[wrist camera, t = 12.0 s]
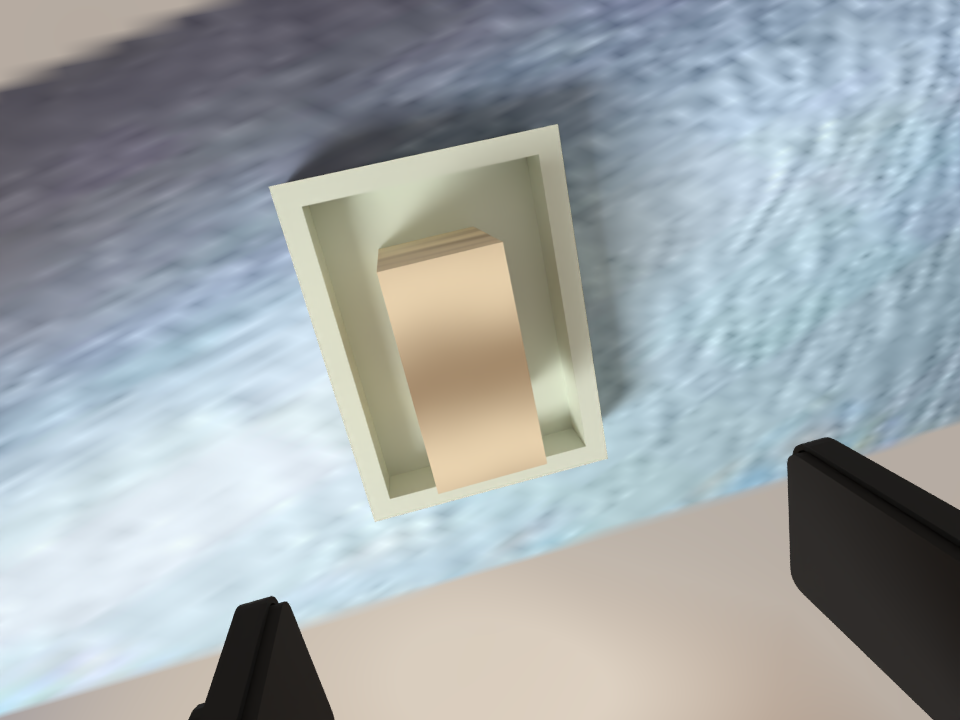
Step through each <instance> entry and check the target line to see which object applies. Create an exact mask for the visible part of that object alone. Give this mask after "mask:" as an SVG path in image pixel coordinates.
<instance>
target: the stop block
mask: <svg viewBox="0 0 960 720" xmlns="http://www.w3.org/2000/svg"><path fill="white" fill-rule="evenodd" d="M377 275H378V279H379V283H380V286H381V290H382V293H383V297H384V301H385V304H386V308H387V311H388V315H389V319H390V322H391V326H392V329H393V333H394V337H395V340H396V344H397V347H398V351H399V355H400V358H401V362H402V365H403V369H404V373H405V376H406V380H407V383H408V387H409V390H410V394H411V398H412V401H413V405H414V408H415V412H416V416H417V419H418V423H419V426H420V430H421V434H422V437H423V441H424V444H425V448H426V452H427V455H428V459H429V462H430V466H431V470H432V473H433V477H434V480H435V484H436V488H437V491H438V494H441V493H444V492H448V491H451V490H455V489H458V488H462V487H466V486H469V485H473V484H476V483H480V482H484V481H487V480H491V479H494V478H498V477H502V476H505V475H509V474H512V473H516V472H520V471H523V470H527V469H530V468H534V467H538V466H541V465H545V464H547V460H546V455H545V450H544V445H543V440H542V435H541V430H540V425H539V420H538V415H537V410H536V405H535V400H534V395H533V390H532V385H531V380H530V375H529V370H528V365H527V360H526V355H525V350H524V345H523V340H522V335H521V330H520V325H519V320H518V315H517V310H516V305H515V300H514V295H513V290H512V285H511V280H510V275H509V270H508V265H507V260H506V255H505V250H504V245H503V242H502V241H500V240H498V239H496V238H495V237H493V236H491V235H489V234H487V233H485V232H483V231H481V230H479V229H477V228H475V227H469V228H465V229H460V230H456V231H452V232H448V233H444V234H439V235H435V236H431V237H427V238H423V239H419V240H414V241H410V242H406V243H402V244H398V245H393V246H389V247H385V248H381V249H378V262H377Z"/></svg>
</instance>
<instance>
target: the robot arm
mask: <svg viewBox="0 0 960 720" xmlns="http://www.w3.org/2000/svg"><path fill="white" fill-rule="evenodd" d="M787 471H788V502H789V533H790V567H791V575H792V578H793V580H794V582H795V584H796V586H797V587H798V589H799V590H800V591H801V592H802V593H803V594H804V595H805V596H806V597H807V598H808V599H809V600H810V601H811V602H812V603H813V604H814V605H815V606H816V607H817V608H818V609H819V610H820V611H821V612H822V613H823V614H825V615H826V616H827V617H828V618H829V619H830V620H831V621H832V622H833V623H834V624H835V625H836V626H837V627H838V628H839V629H840V630H841V631H842V632H843V633H844V634H845V635H846V636H847V637H848V638H849V639H850V640H851V641H852V642H854V643H855V644H856V645H857V646H858V647H859V648H860V649H861V650H862V651H863V652H864V653H865V654H866V655H867V656H868V657H869V658H870V659H871V660H872V661H873V662H874V663H875V664H876V665H877V666H878V667H879V668H881V670H882V671H883V672H884V673H886V674H887V675H888V676H889V677H890V678H891V679H892V680H893V681H894V682H895V683H896V684H897V685H898V686H899V687H900V688H901V689H902V690H903V691H904V692H905V693H906V694H907V695H908V696H909V697H910V698H911V699H912V700H913V701H914V702H915V703H917V705H919V706H920V707H921V708H922V709H923V710H924V711H925V712H926V713H927V714H928V715H929V716H930V717H931V718H932V719H933V720H960V510H959V509H957V508H955V507H953V506H952V505H949V504H948V503H946V502H944V501H943V500H941V499H939V498H937V497H936V496H934V495H932V494H930V493H928V492H927V491H925V490H923V489H921V488H920V487H918V486H916V485H914V484H913V483H911V482H909V481H907V480H905V479H904V478H902V477H900V476H898V475H896V474H895V473H893V472H891V471H889V470H888V469H886V468H884V467H882V466H881V465H879V464H877V463H875V462H873V461H872V460H870V459H868V458H866V457H865V456H863V455H861V454H859V453H858V452H856V451H854V450H852V449H850V448H849V447H847V446H845V445H843V444H842V443H840V442H838V441H836V440H834V439H832V438H829V437H826V438H821V439H818V440H814V441H811V442H807V443H804V444H800V445H798V446H796V447H795V449H794V451H793V455H791V456H790V457H789V458H788V462H787ZM188 720H334V716H333V712H332V710H331V707H330V705H329V702H328V700H327V697H326V695H325V692H324V690H323V687H322V685H321V682H320V680H319V677H318V675H317V672H316V670H315V667H314V665H313V662H312V660H311V657H310V655H309V652H308V650H307V647H306V644H305V642H304V639H303V637H302V634H301V632H300V629H299V627H298V624H297V622H296V619H295V617H294V614H293V612H292V609H291V607H290V605H289V603H288V602H281V603H278V601H277V599H276V598H275V597H273V596H270V597H267V598H263V599H260V600H256V601H253V602H249V603H246V604H242V605H240V606H238V607H237V609H236V611H235V613H234V616H233V619H232V622H231V625H230V628H229V631H228V634H227V637H226V641H225V644H224V647H223V650H222V653H221V656H220V659H219V662H218V665H217V668H216V671H215V674H214V677H213V680H212V683H211V686H210V690H209V692H208V695H207V698H206V701H205V703H202V704H199V705H198V706H197V707H196V708H195V709H194V710H193V711H192V713H191V715H190V717H189V719H188Z"/></svg>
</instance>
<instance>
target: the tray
mask: <svg viewBox="0 0 960 720" xmlns="http://www.w3.org/2000/svg"><path fill="white" fill-rule="evenodd" d="M269 189H270V192H271V195H272V198H273V201H274V205H275V208H276V211H277V214H278V217H279V220H280V224H281V227H282V230H283V233H284V236H285V239H286V242H287V246H288V249H289V252H290V255H291V258H292V261H293V265H294V268H295V271H296V274H297V277H298V280H299V284H300V287H301V290H302V293H303V296H304V299H305V302H306V306H307V309H308V312H309V315H310V318H311V321H312V325H313V328H314V331H315V334H316V337H317V340H318V343H319V347H320V350H321V353H322V356H323V359H324V362H325V366H326V369H327V372H328V375H329V378H330V381H331V385H332V388H333V391H334V394H335V397H336V400H337V403H338V407H339V410H340V413H341V416H342V419H343V422H344V426H345V429H346V432H347V435H348V438H349V441H350V445H351V448H352V451H353V454H354V457H355V460H356V463H357V467H358V470H359V473H360V476H361V479H362V482H363V486H364V489H365V492H366V495H367V498H368V501H369V504H370V508H371V511H372V514H373V517H374V520H375V522H376V521H380V520H384V519H387V518H391V517H395V516H398V515H402V514H406V513H409V512H413V511H417V510H421V509H424V508H428V507H432V506H435V505H439V504H443V503H446V502H450V501H454V500H457V499H461V498H465V497H468V496H472V495H476V494H479V493H483V492H487V491H490V490H494V489H498V488H501V487H505V486H509V485H512V484H516V483H520V482H523V481H527V480H531V479H534V478H538V477H542V476H545V475H549V474H553V473H556V472H560V471H564V470H568V469H571V468H575V467H579V466H582V465H586V464H590V463H593V462H597V461H601V460H604V459H608V457H607V450H606V444H605V437H604V430H603V423H602V417H601V410H600V403H599V397H598V390H597V383H596V377H595V370H594V363H593V357H592V350H591V343H590V337H589V330H588V323H587V316H586V310H585V303H584V296H583V290H582V283H581V276H580V270H579V263H578V256H577V250H576V243H575V236H574V229H573V223H572V216H571V209H570V203H569V196H568V189H567V183H566V176H565V169H564V163H563V156H562V149H561V143H560V136H559V129H558V124H556V125H551V126H547V127H542V128H537V129H533V130H528V131H524V132H519V133H514V134H510V135H505V136H501V137H496V138H491V139H487V140H482V141H478V142H473V143H468V144H464V145H459V146H455V147H450V148H445V149H441V150H436V151H431V152H427V153H422V154H418V155H413V156H408V157H404V158H399V159H395V160H390V161H385V162H381V163H376V164H372V165H367V166H362V167H358V168H353V169H348V170H344V171H339V172H335V173H330V174H325V175H321V176H316V177H312V178H307V179H302V180H298V181H293V182H289V183H284V184H279V185H275V186H270V187H269ZM469 227H475V228H477V229H479V230H481V231H483V232H485V233H487V234H489V235H491V236H493V237H495V238H496V239H498V240H500V241H502V242H503V245H504V250H505V255H506V260H507V265H508V270H509V275H510V280H511V285H512V290H513V295H514V300H515V305H516V310H517V315H518V320H519V325H520V330H521V335H522V340H523V345H524V350H525V355H526V360H527V365H528V370H529V375H530V380H531V385H532V390H533V395H534V400H535V405H536V410H537V415H538V420H539V425H540V430H541V435H542V440H543V445H544V450H545V455H546V460H547V464H545V465H541V466H538V467H534V468H530V469H527V470H523V471H520V472H516V473H512V474H509V475H505V476H502V477H498V478H494V479H491V480H487V481H484V482H480V483H476V484H473V485H469V486H466V487H462V488H458V489H455V490H451V491H448V492H444V493H441V494H438V491H437V488H436V484H435V480H434V477H433V473H432V470H431V466H430V462H429V459H428V455H427V452H426V448H425V444H424V441H423V437H422V434H421V430H420V426H419V423H418V419H417V416H416V412H415V408H414V405H413V401H412V398H411V394H410V390H409V387H408V383H407V380H406V376H405V373H404V369H403V365H402V362H401V358H400V355H399V351H398V347H397V344H396V340H395V337H394V333H393V329H392V326H391V322H390V319H389V315H388V311H387V308H386V304H385V301H384V297H383V293H382V290H381V286H380V283H379V279H378V275H377V262H378V249H381V248H385V247H389V246H393V245H398V244H402V243H406V242H410V241H414V240H419V239H423V238H427V237H431V236H435V235H439V234H444V233H448V232H452V231H456V230H460V229H465V228H469Z"/></svg>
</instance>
